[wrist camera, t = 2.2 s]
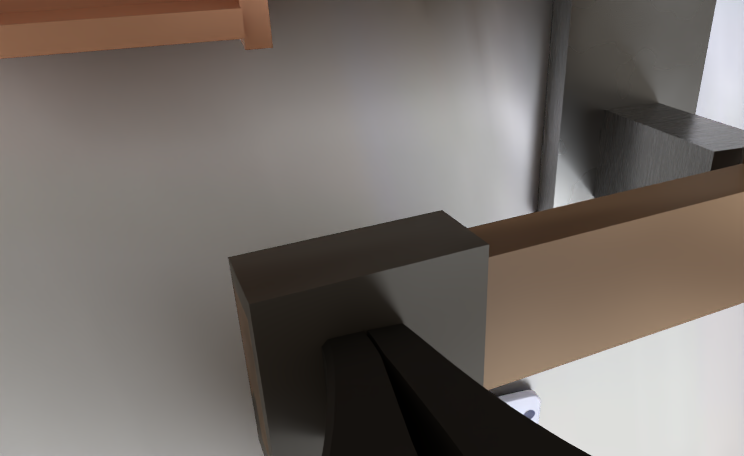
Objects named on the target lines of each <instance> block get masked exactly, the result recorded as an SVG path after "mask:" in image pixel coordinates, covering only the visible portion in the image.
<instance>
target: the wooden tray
mask: <svg viewBox="0 0 744 456" xmlns="http://www.w3.org/2000/svg"><path fill="white" fill-rule="evenodd" d="M228 259H229V265H230V271H231V277H232V282H233V288H234V294H235V300H236V306H237V312H238V318H239V324H240V330H241V336H242V342H243V348H244V353H245V359H246V365H247V371H248V377H249V383H250V389H251V395H252V401H253V407H254V413H255V419H256V424H257V430H258V436H259V441H260V444H261V447H262V450H263V453H264V456H322V452H323V445H324V438H325V429H326V414H327V396H326V386H325V376H324V367H323V357H322V346H323V344H324V343H325V342H326V341H327V340H328V339H331V338H335V337H339V336H343V335H347V334H351V333H356V332H361V331H364V332H365V333H366V335H367V336H368V334H367V330H371V329H376V328H382V327H387V326H392V325H397V324H402V323H403V324H404V325H406V326H407V327H408V328H410V329H411V330H412V331H413V332H415V333H416V334H417V335H418V336H420V337H421V338H422V339H423V340H425V341H426V342H427V343H428V344H429V345H431V346H432V347H433V348H434V349H436V350H437V351H438V352H439V353H440V354H442V355H443V356H444V357H445V358H447V359H448V360H449V361H451V362H452V363H453V364H454V365H456V366H457V367H458V368H459V369H461V370H462V371H463V372H465V373H466V374H467V375H468V376H470V377H471V378H472V379H474V380H475V381H476V382H478V383H479V384H481V385H482V386H483V387H485V388H486V389H487V390H490V389H493V388H496V387H499V386H502V385H505V384H508V383H511V382H514V381H517V380H520V379H522V378H525V377H528V376H531V375H534V374H537V373H540V372H543V371H546V370H549V369H552V368H555V367H557V366H560V365H563V364H566V363H569V362H572V361H575V360H578V359H581V358H584V357H587V356H589V355H592V354H595V353H598V352H601V351H604V350H607V349H610V348H613V347H616V346H619V345H622V344H624V343H627V342H630V341H633V340H636V339H639V338H642V337H645V336H648V335H651V334H654V333H656V332H659V331H662V330H665V329H668V328H671V327H674V326H677V325H680V324H683V323H686V322H689V321H691V320H694V319H697V318H700V317H703V316H706V315H709V314H712V313H715V312H718V311H721V310H723V309H726V308H729V307H732V306H735V305H738V304H741V303H744V158H743V162H742V164H738V165H734V166H730V167H726V168H721V169H717V170H713V171H709V172H704V173H700V174H696V175H692V176H687V177H683V178H679V179H675V180H670V181H666V182H662V183H658V184H653V185H649V186H645V187H641V188H636V189H632V190H628V191H624V192H619V193H615V194H611V195H607V196H602V197H598V198H594V199H590V200H585V201H581V202H577V203H573V204H568V205H564V206H560V207H556V208H551V209H547V210H543V211H539V212H534V213H530V214H526V215H522V216H517V217H513V218H509V219H505V220H500V221H496V222H492V223H488V224H483V225H479V226H475V227H471V228H466V227H464V226H463V225H462V224H460V223H459V222H458V221H456V220H455V219H453V218H452V217H451V216H449V215H448V214H447V213H445V212H444V211H442V210H441V211H436V212H432V213H427V214H423V215H418V216H414V217H409V218H405V219H400V220H395V221H391V222H386V223H382V224H377V225H373V226H368V227H364V228H359V229H355V230H350V231H346V232H341V233H336V234H332V235H327V236H323V237H318V238H314V239H309V240H305V241H300V242H296V243H291V244H287V245H282V246H277V247H273V248H268V249H264V250H259V251H255V252H250V253H246V254H241V255H237V256H232V257H228Z"/></svg>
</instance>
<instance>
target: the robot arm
mask: <svg viewBox="0 0 744 456" xmlns="http://www.w3.org/2000/svg"><path fill="white" fill-rule="evenodd" d="M367 334H368V336H367V335H366V333H365V332H364V331H361V332H356V333H351V334H347V335H343V336H339V337H335V338H331V339H328V340H327V341H326V342H325V343H324V344H323V346H322V357H323V367H324V376H325V386H326V396H327V414H326V429H325V438H324V445H323V452H322V456H591V455H589V454H587V453H586V452H584V451H582V450H580V449H578V448H577V447H575V446H573V445H571V444H569V443H568V442H566V441H564V440H563V439H561V438H559V437H558V436H556V435H554V434H553V433H551V432H549V431H548V430H546V429H545V428H543V427H541V426H540V425H538V424H539V414H540V403H541V401H540V398H539V396H538V395H537V394H536V393H535V391H533V390H525V391H520V392H516V393H512V394H507V395H503V396H498V397H497V396H495V395H494V394H493V393H491V392H490V391H489V390H487V389H486V388H485V387H483V386H482V385H481V384H479V383H478V382H476V381H475V380H474V379H472V378H471V377H470V376H468V375H467V374H466V373H465V372H463V371H462V370H461V369H459V368H458V367H457V366H456V365H454V364H453V363H452V362H451V361H449V360H448V359H447V358H445V357H444V356H443V355H442V354H440V353H439V352H438V351H437V350H436V349H434V348H433V347H432V346H431V345H429V344H428V343H427V342H426V341H425V340H423V339H422V338H421V337H420V336H418V335H417V334H416V333H415V332H413V331H412V330H411V329H410V328H408V327H407V326H406V325H404V324H403V323H402V324H397V325H392V326H387V327H382V328H376V329H371V330H367ZM528 410H529V411H528ZM526 411H528V412H526ZM525 412H526V413H525Z"/></svg>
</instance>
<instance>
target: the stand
mask: <svg viewBox="0 0 744 456" xmlns="http://www.w3.org/2000/svg"><path fill="white" fill-rule="evenodd" d="M715 5H716V0H554V2H553V15H552V28H551V41H550V53H549V66H548V79H547V92H546V105H545V118H544V131H543V143H542V156H541V169H540V182H539V195H538V208H537V212H539V211H543V210H547V209H551V208H556V207H560V206H564V205H568V204H573V203H577V202H581V201H585V200H590V199H594V198H598V197H602V196H607V195H611V194H615V193H619V192H624V191H628V190H632V189H636V188H641V187H645V186H649V185H653V184H658V183H662V182H666V181H670V180H675V179H679V178H683V177H687V176H692V175H696V174H700V173H704V172H709V171H713V170H717V169H721V168H726V167H730V166H734V165H738V164H742V162H743V158H744V130H741V129H738V128H735V127H732V126H729V125H726V124H723V123H720V122H717V121H714V120H710V119H707V118H704V117H701V116H698V115H695V112H696V107H697V101H698V96H699V91H700V85H701V80H702V74H703V69H704V64H705V58H706V53H707V48H708V42H709V37H710V32H711V26H712V21H713V16H714V10H715Z"/></svg>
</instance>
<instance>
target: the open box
mask: <svg viewBox="0 0 744 456" xmlns="http://www.w3.org/2000/svg"><path fill="white" fill-rule="evenodd" d="M234 39H240V40H241V42H242V44H243V46H244V48H245V50H251V49H263V48H273V44H272V35H271V26H270V18H269V9H268V0H0V59H2V58H15V57H27V56H39V55H51V54H63V53H76V52H88V51H100V50H112V49H124V48H137V47H149V46H161V45H173V44H185V43H197V42H210V41H222V40H234Z"/></svg>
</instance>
